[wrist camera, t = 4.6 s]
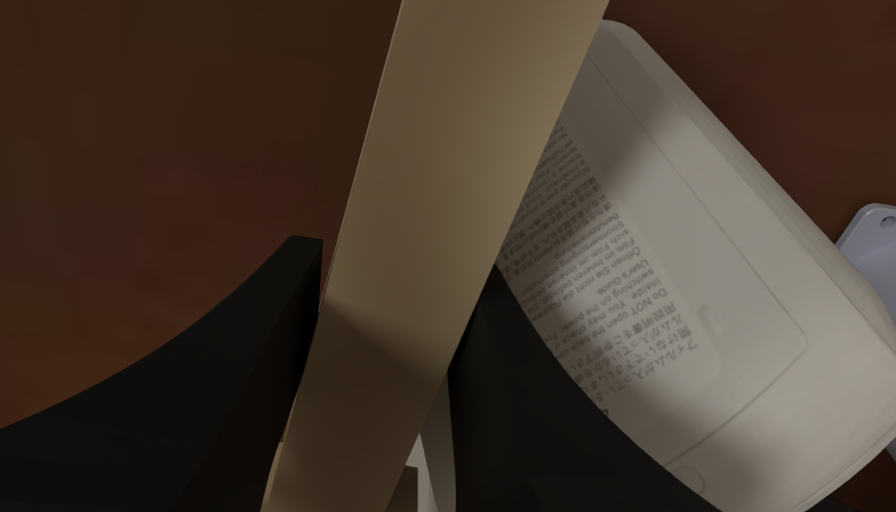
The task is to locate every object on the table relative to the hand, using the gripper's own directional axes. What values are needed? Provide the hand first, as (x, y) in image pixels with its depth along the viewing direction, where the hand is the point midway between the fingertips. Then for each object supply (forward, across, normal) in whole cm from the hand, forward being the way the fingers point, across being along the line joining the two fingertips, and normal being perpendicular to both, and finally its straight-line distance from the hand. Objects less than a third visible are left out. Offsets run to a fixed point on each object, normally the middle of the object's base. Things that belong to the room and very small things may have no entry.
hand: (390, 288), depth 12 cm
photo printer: (+8, -3, 0) cm, 8 cm away
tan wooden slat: (+2, 0, 0) cm, 2 cm away
